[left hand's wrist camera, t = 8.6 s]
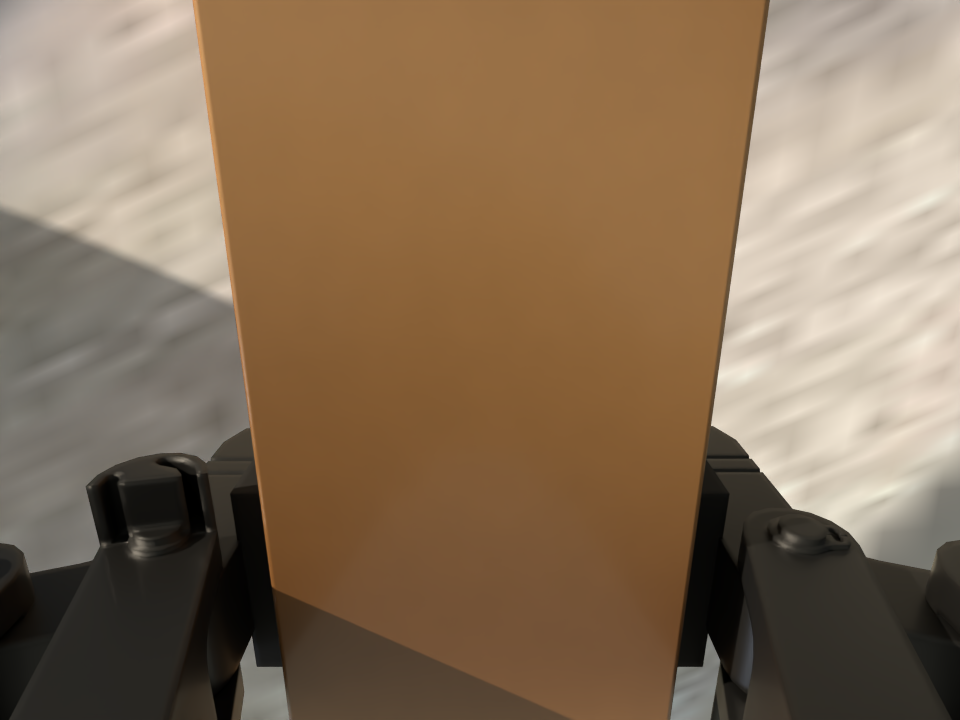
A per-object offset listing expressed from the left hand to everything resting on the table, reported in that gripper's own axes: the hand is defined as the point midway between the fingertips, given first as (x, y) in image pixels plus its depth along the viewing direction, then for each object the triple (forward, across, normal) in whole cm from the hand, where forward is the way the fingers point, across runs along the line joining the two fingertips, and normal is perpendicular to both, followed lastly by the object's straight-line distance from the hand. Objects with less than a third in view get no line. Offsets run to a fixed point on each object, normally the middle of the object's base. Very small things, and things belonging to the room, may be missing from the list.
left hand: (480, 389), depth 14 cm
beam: (+1, 0, -28) cm, 28 cm away
